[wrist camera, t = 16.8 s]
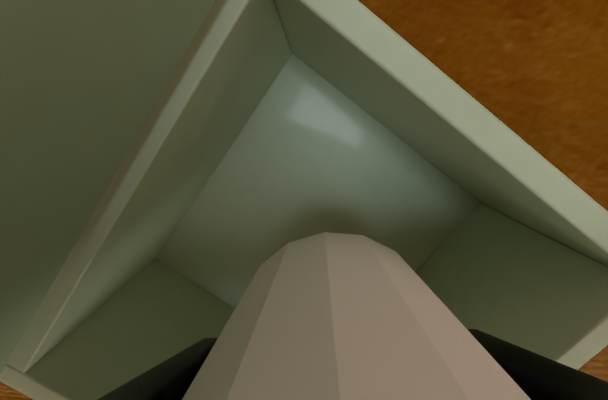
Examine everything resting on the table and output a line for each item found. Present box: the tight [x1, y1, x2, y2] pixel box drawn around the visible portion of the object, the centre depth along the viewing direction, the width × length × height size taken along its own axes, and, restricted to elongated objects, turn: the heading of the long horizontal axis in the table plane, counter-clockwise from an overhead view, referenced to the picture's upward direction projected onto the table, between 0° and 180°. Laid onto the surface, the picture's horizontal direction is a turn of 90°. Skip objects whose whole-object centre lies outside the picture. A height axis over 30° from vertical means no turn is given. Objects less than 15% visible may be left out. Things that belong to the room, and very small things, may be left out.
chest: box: [0, 0, 608, 400], centre depth 12 cm, size 12×13×8 cm
